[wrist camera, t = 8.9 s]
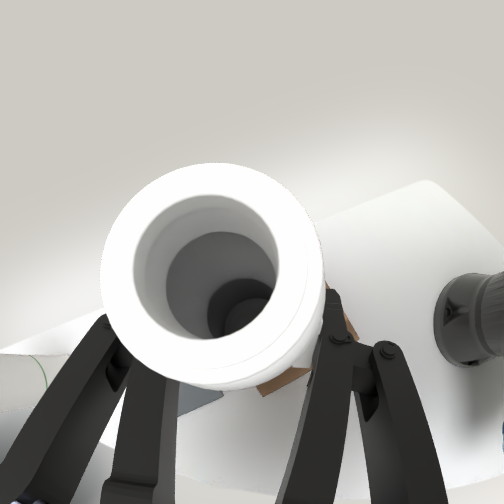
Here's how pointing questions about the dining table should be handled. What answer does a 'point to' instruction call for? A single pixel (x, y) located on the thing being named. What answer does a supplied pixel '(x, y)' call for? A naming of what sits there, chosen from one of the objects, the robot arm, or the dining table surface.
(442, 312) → the robot arm
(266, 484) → the dining table surface
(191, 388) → the mat
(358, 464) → the dining table surface
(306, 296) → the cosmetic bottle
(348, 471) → the dining table surface
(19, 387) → the cylindrical container
